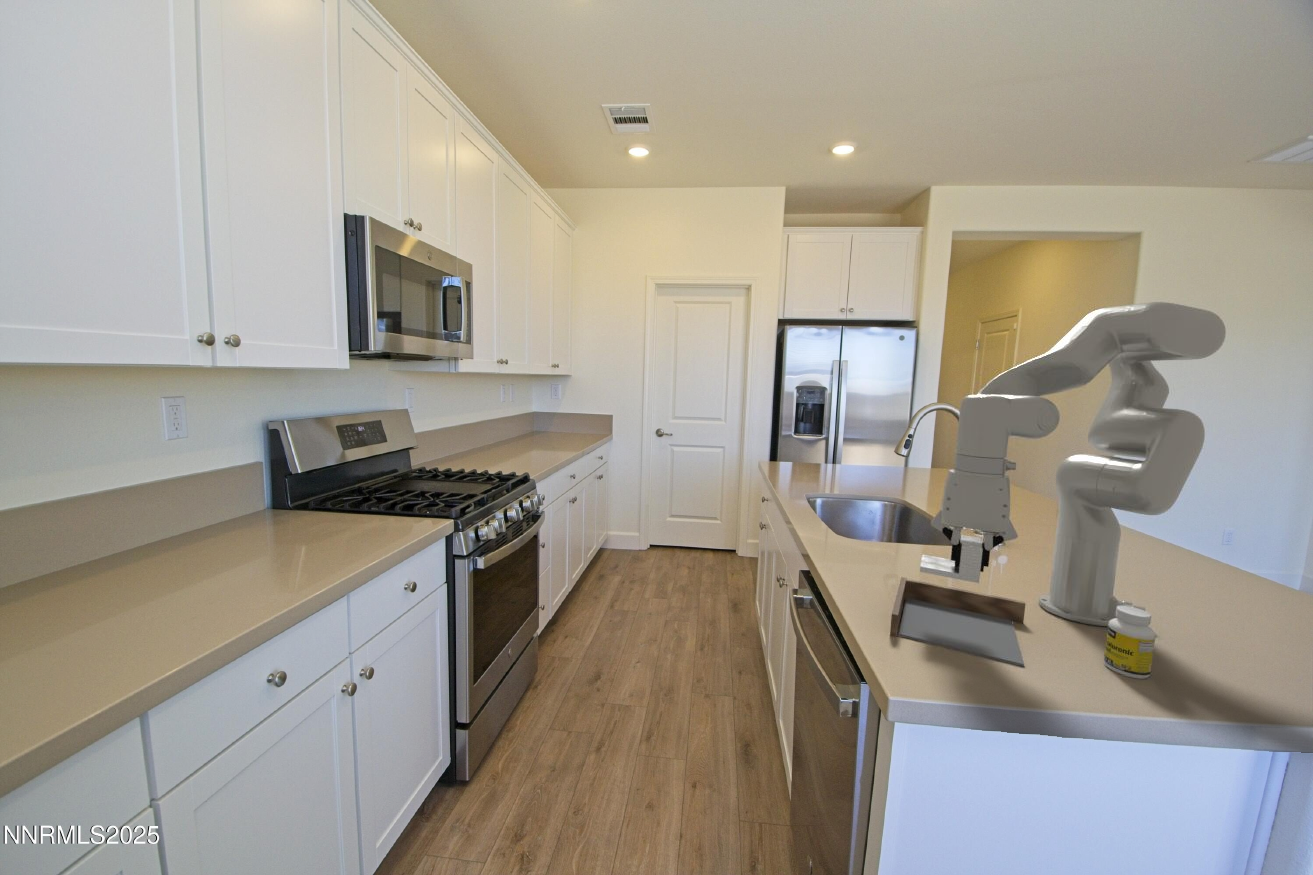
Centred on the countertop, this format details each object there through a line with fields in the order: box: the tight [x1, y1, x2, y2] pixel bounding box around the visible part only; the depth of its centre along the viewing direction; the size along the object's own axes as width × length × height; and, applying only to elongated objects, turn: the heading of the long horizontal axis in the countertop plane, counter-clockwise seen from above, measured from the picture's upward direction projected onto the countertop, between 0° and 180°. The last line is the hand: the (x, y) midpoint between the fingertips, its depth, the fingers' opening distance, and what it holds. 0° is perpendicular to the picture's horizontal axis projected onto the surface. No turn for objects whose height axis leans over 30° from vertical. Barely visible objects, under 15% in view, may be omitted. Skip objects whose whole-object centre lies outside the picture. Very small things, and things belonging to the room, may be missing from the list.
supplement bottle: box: [1103, 606, 1156, 680], centre depth 79 cm, size 5×5×10 cm
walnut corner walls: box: [889, 576, 1026, 638], centre depth 92 cm, size 21×21×4 cm
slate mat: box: [898, 598, 1025, 667], centre depth 92 cm, size 18×18×1 cm
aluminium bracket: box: [919, 534, 983, 584], centre depth 91 cm, size 8×9×6 cm
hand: (968, 566), depth 90 cm, fingers closed on aluminium bracket, 3 cm apart
